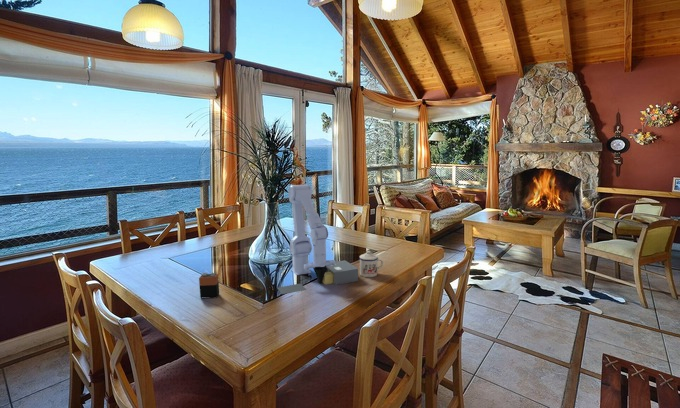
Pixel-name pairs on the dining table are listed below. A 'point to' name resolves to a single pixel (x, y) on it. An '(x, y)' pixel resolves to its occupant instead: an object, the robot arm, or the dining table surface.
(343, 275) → the socket box
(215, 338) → the dining table surface
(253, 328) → the dining table surface
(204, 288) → the battery
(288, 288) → the deck mat
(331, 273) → the yellow block
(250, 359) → the dining table surface
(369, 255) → the teacup with lid
